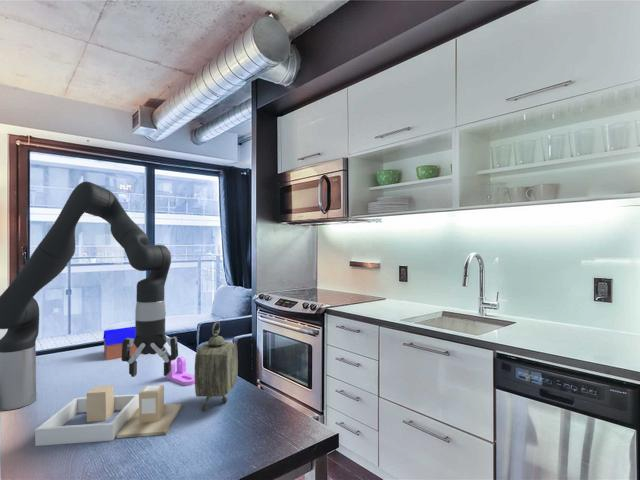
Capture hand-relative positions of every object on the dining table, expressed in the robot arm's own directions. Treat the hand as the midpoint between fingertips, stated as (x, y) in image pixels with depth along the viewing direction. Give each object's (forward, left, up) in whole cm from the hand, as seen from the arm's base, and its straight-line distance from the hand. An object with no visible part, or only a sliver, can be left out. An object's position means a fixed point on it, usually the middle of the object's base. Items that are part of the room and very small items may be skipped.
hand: (150, 375), depth 100 cm
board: (0, 0, -13) cm, 13 cm away
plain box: (-15, +5, -13) cm, 20 cm away
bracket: (+1, +30, -13) cm, 32 cm away
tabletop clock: (+17, +9, -13) cm, 23 cm away
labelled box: (0, 0, -12) cm, 12 cm away
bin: (-15, 0, -13) cm, 20 cm away
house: (-31, +66, -13) cm, 74 cm away
